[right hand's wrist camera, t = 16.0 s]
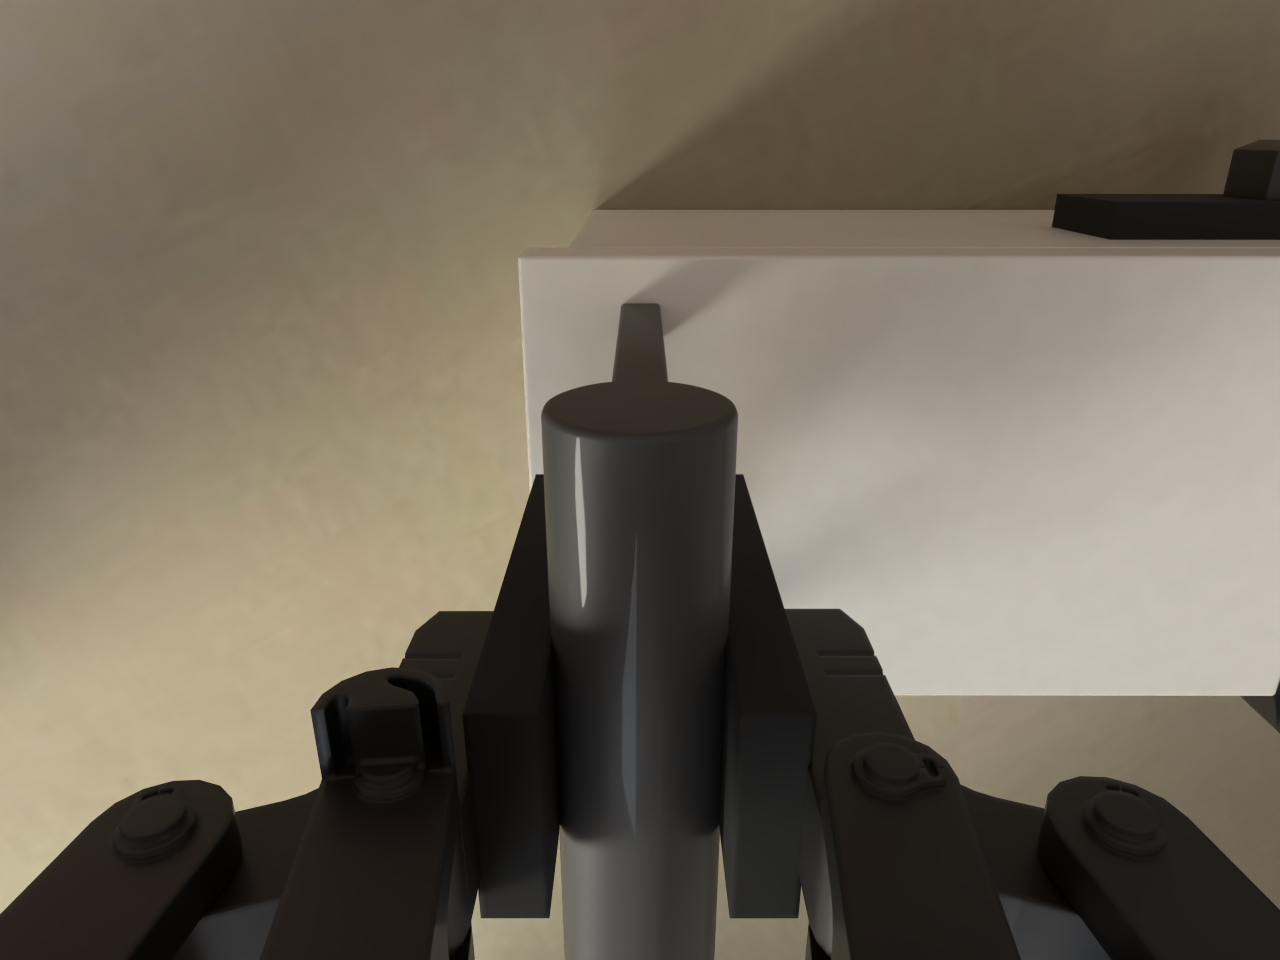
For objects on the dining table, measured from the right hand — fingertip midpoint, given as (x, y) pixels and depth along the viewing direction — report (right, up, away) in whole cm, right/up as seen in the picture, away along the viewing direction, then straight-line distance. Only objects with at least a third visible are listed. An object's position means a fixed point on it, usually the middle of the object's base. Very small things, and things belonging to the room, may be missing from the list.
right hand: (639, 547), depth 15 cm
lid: (+6, +1, +3) cm, 7 cm away
